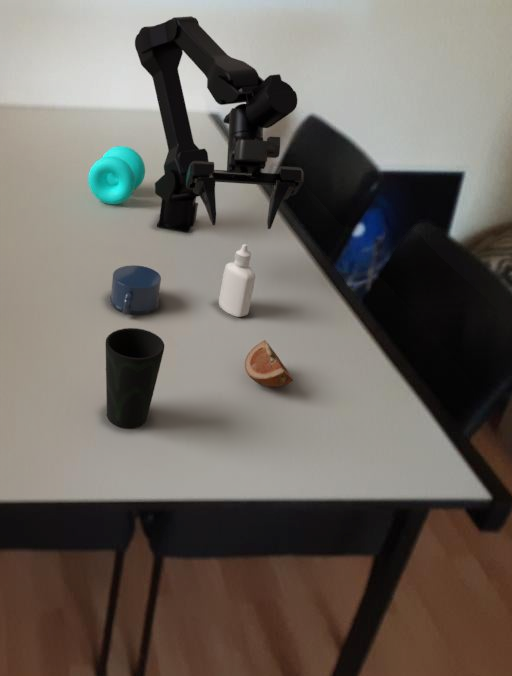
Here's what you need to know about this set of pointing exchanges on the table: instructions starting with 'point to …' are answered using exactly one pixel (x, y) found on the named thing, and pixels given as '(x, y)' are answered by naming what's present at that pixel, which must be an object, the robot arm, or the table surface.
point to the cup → (131, 375)
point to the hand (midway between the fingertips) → (241, 226)
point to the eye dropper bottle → (237, 284)
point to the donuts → (116, 175)
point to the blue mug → (135, 290)
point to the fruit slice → (266, 366)
